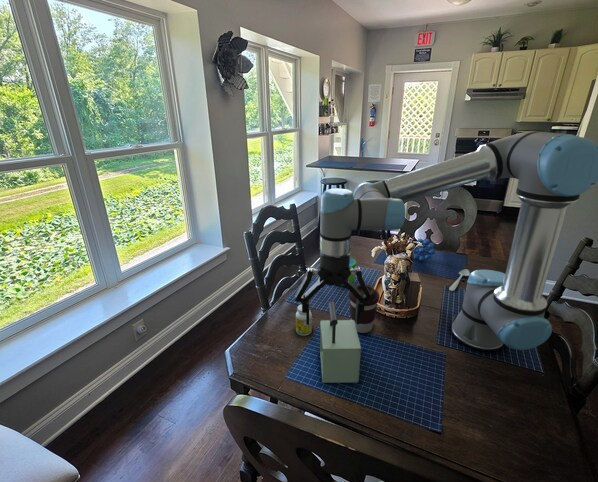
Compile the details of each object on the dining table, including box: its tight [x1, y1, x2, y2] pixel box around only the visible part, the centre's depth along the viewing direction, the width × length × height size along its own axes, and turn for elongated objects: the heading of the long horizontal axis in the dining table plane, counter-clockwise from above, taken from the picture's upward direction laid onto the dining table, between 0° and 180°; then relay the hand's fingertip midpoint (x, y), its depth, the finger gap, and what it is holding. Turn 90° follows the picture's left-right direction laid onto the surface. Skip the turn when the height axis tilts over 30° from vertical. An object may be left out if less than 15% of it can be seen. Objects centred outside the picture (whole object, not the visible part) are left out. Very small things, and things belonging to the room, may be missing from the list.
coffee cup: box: [348, 284, 380, 334], centre depth 108 cm, size 10×10×15 cm
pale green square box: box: [319, 301, 362, 384], centre depth 91 cm, size 20×12×10 cm
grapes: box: [413, 238, 436, 262], centre depth 154 cm, size 12×7×12 cm, turn 46°
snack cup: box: [339, 256, 357, 287], centre depth 137 cm, size 16×10×10 cm
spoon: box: [448, 268, 471, 292], centre depth 138 cm, size 4×21×2 cm, turn 138°
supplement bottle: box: [295, 303, 313, 337], centre depth 107 cm, size 5×5×10 cm
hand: (332, 321), depth 88 cm, fingers open, 13 cm apart
